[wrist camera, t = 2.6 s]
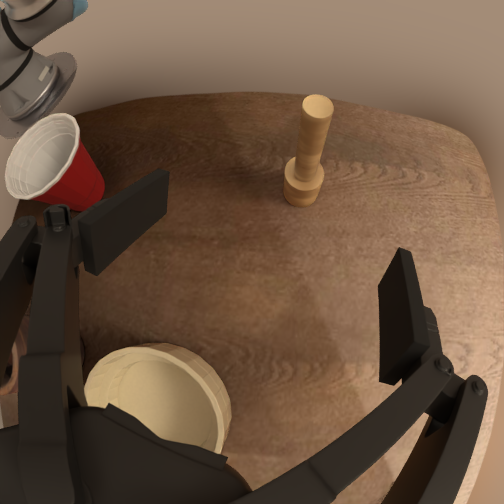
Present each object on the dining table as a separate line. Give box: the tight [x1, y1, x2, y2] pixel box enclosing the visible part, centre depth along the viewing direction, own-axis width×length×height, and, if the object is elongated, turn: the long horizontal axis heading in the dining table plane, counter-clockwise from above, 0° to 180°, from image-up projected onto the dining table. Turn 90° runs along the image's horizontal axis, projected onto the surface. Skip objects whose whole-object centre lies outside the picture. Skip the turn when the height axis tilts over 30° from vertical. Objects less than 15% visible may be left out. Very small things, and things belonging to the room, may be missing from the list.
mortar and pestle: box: [0, 315, 85, 395], centre depth 24 cm, size 12×9×20 cm
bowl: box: [84, 343, 232, 454], centre depth 28 cm, size 15×15×6 cm
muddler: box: [283, 95, 334, 207], centre depth 27 cm, size 4×4×16 cm
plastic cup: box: [5, 113, 105, 211], centre depth 31 cm, size 11×11×12 cm
